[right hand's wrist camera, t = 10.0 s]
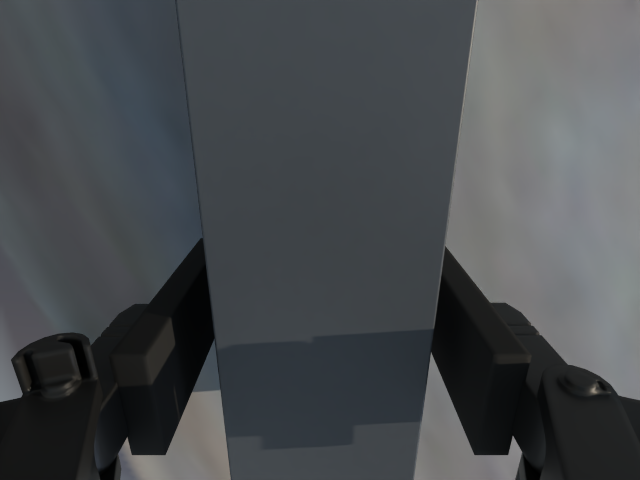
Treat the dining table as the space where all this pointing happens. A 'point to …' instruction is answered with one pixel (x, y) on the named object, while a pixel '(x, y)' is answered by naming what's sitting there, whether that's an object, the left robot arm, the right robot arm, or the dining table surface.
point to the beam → (324, 220)
